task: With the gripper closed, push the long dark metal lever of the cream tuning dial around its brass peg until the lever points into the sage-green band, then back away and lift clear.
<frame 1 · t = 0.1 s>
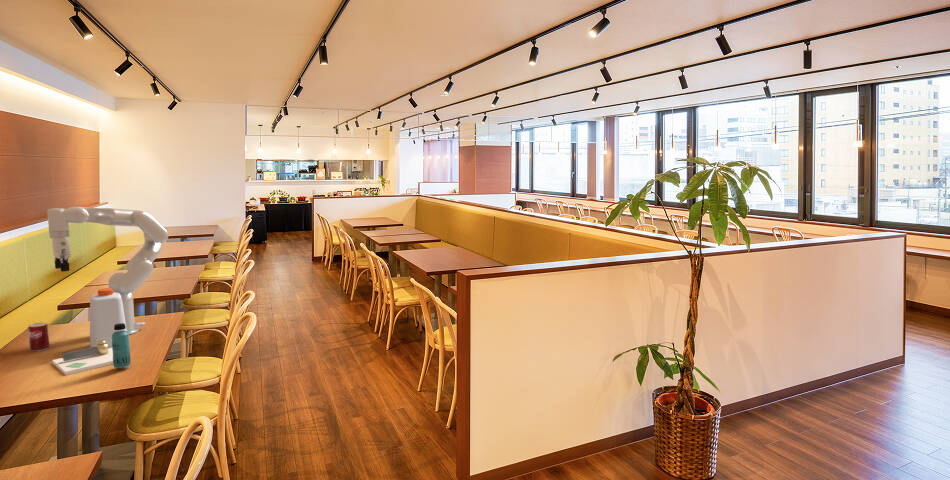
hand: (62, 269, 255), 37 cm above the table, tool pointing down, fingers open, 9 cm apart
plastic bottle: (109, 346, 258), on the table
dial plate: (90, 361, 237), on the table
soda can: (40, 349, 252), on the table
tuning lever: (86, 350, 238), point 5 cm above the table, hinge at 0.0°
beverage bottle: (122, 369, 230), on the table
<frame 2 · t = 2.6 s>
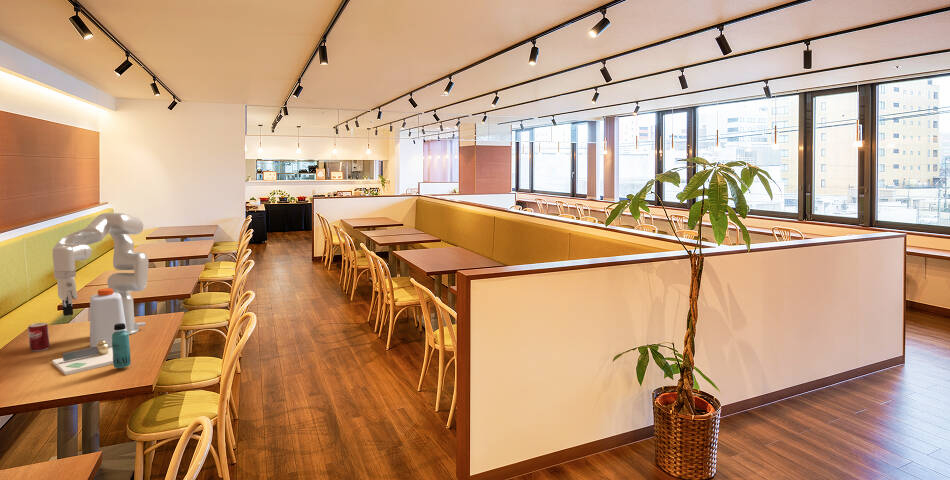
hand: (68, 314, 236), 21 cm above the table, tool pointing down, fingers closed
nothing on the table moved.
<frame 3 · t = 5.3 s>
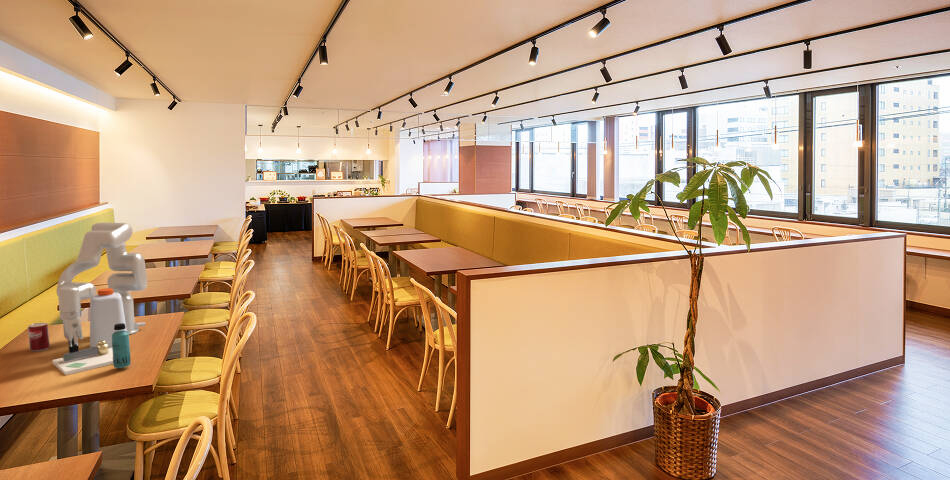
hand: (74, 354, 236), 3 cm above the table, tool pointing down, fingers closed
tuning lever: (86, 350, 238), point 5 cm above the table, hinge at 2.7°, touching gripper
everything else where it was.
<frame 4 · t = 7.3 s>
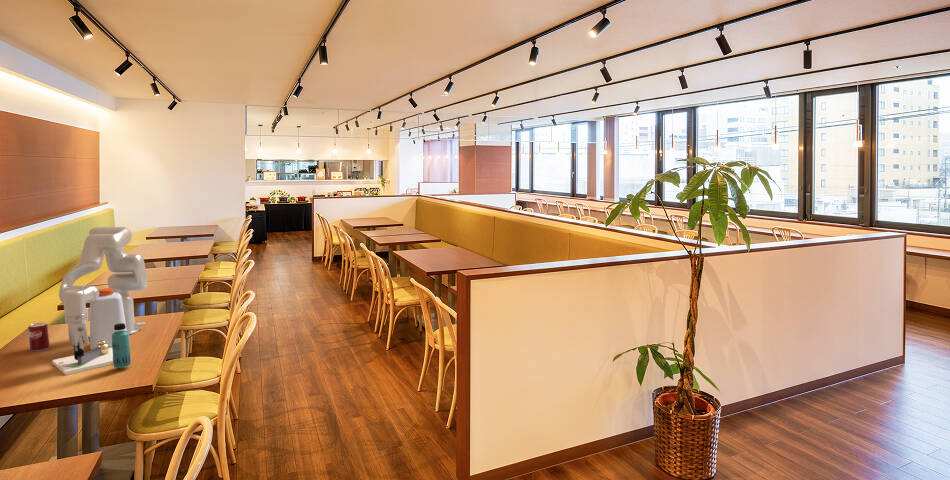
hand: (79, 358, 232), 3 cm above the table, tool pointing down, fingers closed
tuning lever: (92, 351, 236), point 5 cm above the table, hinge at 40.8°, touching gripper
everything else where it was.
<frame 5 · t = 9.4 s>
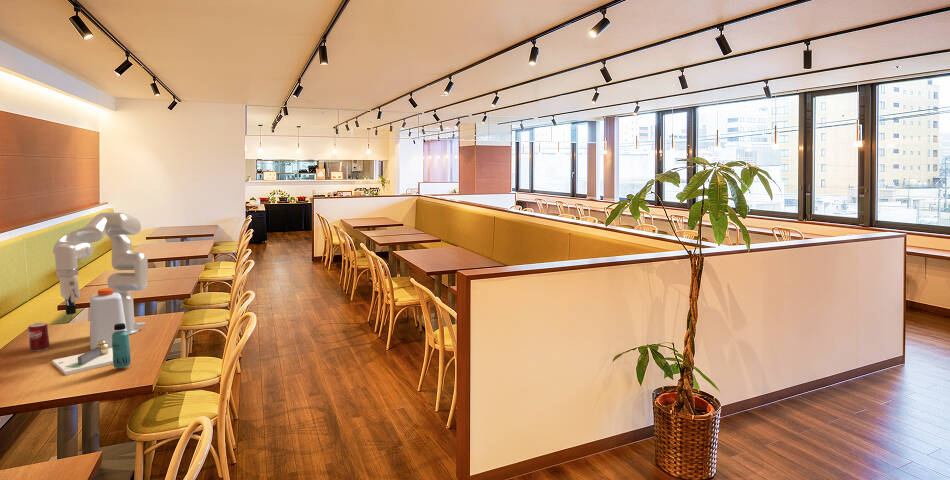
hand: (71, 313, 234), 22 cm above the table, tool pointing down, fingers closed
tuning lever: (92, 351, 236), point 5 cm above the table, hinge at 40.9°
everything else where it was.
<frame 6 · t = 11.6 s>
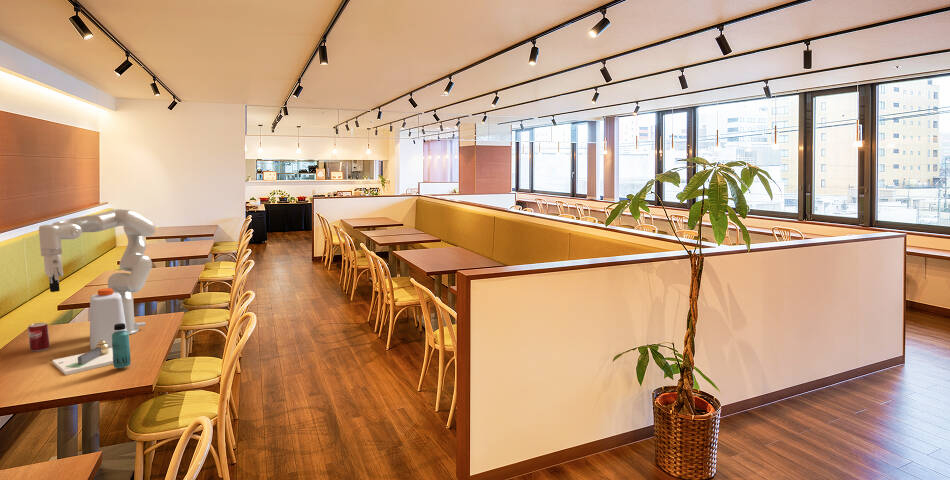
hand: (54, 291, 244), 29 cm above the table, tool pointing down, fingers closed
nothing on the table moved.
at the end: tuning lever at +41° (first picture: +0°) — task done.
